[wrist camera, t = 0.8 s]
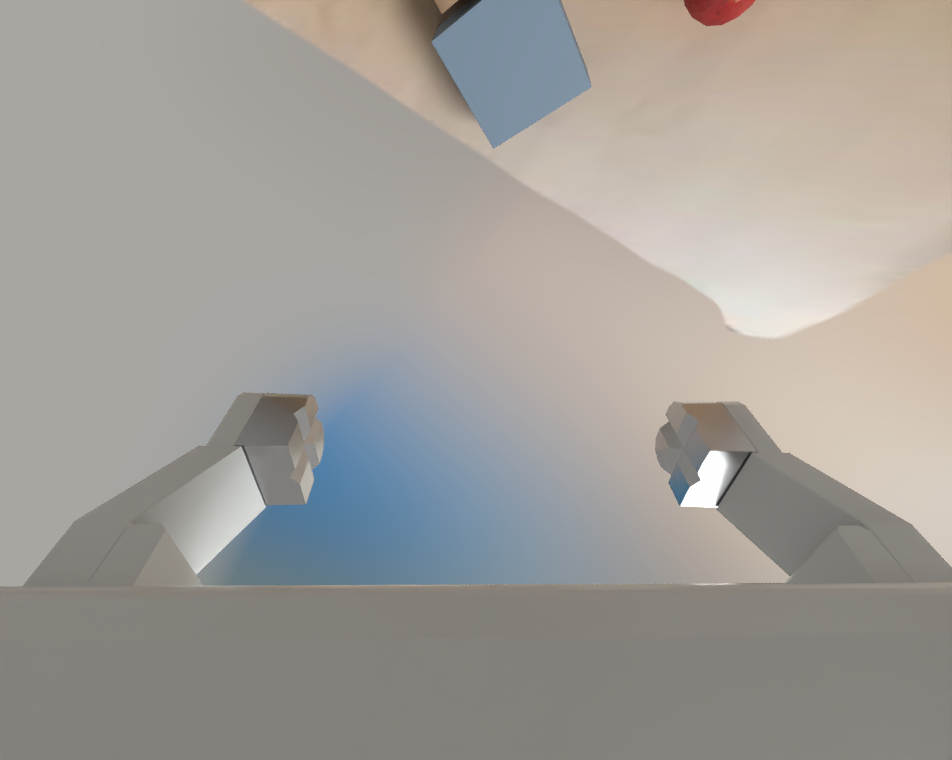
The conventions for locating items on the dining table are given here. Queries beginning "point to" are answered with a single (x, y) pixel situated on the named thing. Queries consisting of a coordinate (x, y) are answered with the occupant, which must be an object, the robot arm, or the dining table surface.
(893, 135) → the dining table surface
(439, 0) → the walnut block
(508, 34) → the slate-blue block
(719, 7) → the onion
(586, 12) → the dining table surface
